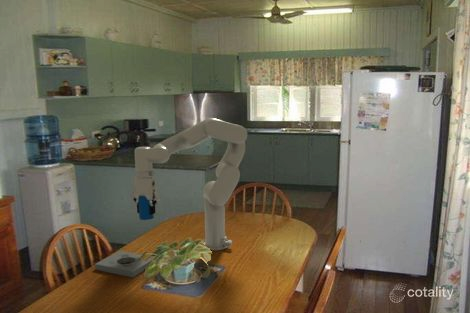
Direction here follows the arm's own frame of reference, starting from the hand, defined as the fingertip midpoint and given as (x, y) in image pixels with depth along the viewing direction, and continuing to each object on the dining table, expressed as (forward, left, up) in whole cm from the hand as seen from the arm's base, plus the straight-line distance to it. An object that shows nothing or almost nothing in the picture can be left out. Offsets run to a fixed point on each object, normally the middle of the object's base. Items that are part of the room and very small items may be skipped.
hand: (146, 212), depth 192 cm
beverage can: (0, 0, -3) cm, 3 cm away
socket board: (0, +15, -20) cm, 25 cm away
